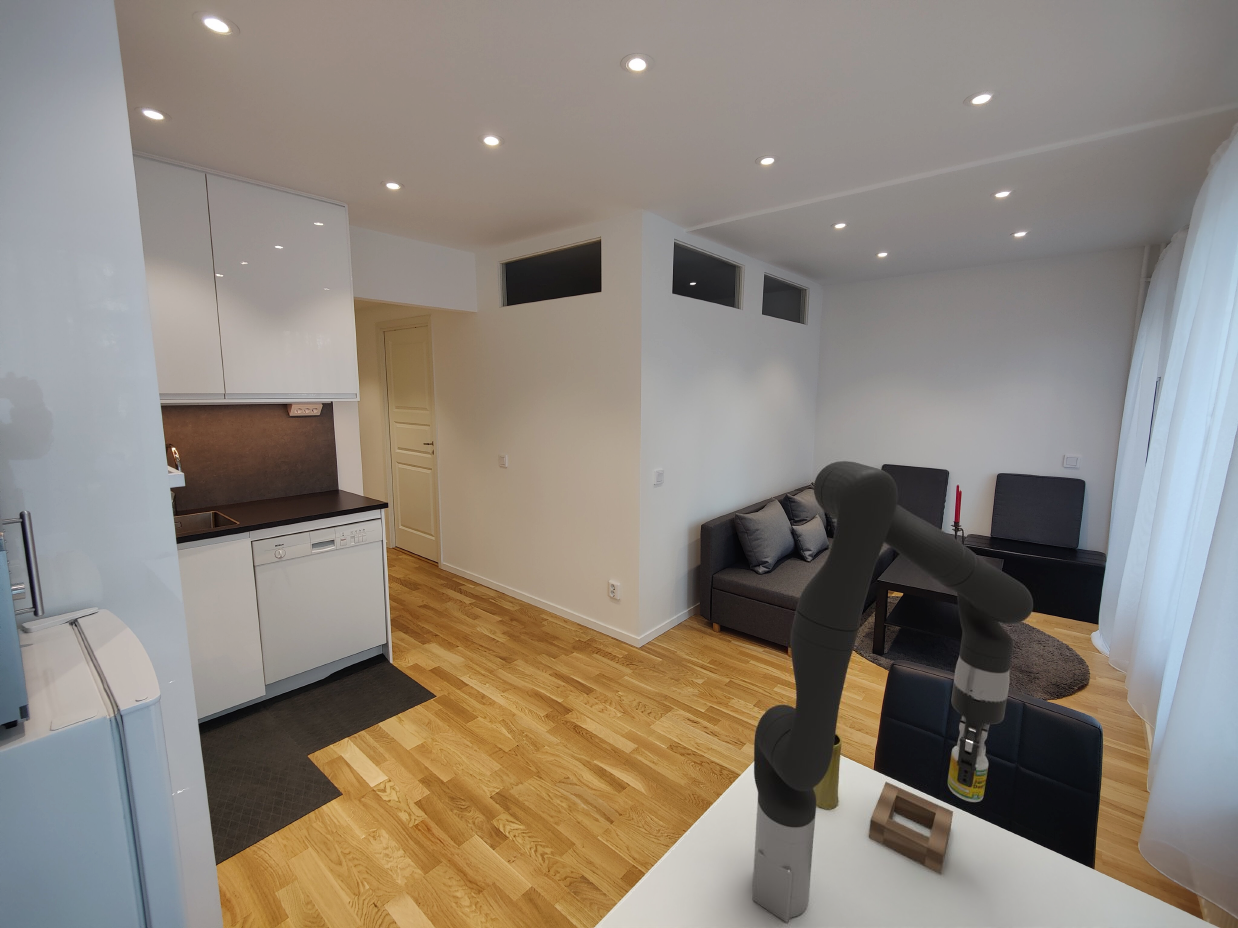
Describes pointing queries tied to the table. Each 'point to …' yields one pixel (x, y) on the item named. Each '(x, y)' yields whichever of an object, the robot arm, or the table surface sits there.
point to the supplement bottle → (979, 779)
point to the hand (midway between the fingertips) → (967, 773)
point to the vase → (830, 780)
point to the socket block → (906, 838)
